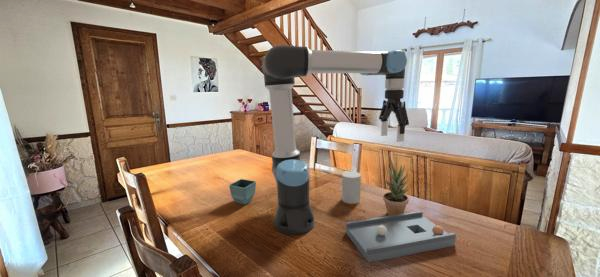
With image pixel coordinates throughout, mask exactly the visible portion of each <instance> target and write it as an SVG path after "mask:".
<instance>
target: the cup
mask: <svg viewBox="0 0 600 277" xmlns="http://www.w3.org/2000/svg"><path fill="white" fill-rule="evenodd" d="M361 180H362V174H361V173H360V172H357V171H344V172H342V174H341V201H342V202H344V203H346V204H349V205H350V204H351V205H355V204H359V203H360V202H361V188H362V187H361V184H362V182H361Z"/></svg>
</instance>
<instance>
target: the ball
mask: <svg viewBox="0 0 600 277" xmlns="http://www.w3.org/2000/svg"><path fill="white" fill-rule="evenodd" d="M377 233H378V234H379V235H381V236H384V235H386V233H387V229H386V227H385V226H383V225H380V226H378V227H377Z"/></svg>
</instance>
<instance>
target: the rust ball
mask: <svg viewBox="0 0 600 277" xmlns="http://www.w3.org/2000/svg"><path fill="white" fill-rule="evenodd" d="M435 225H436V224H435ZM432 231H433V233H434V234H435V235H436V236H437V235H442V234H443V233H444V231H445V230H444V228H443V227H442V226H441V225H436V226H434V227H433V229H432Z"/></svg>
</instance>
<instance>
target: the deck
mask: <svg viewBox="0 0 600 277" xmlns="http://www.w3.org/2000/svg"><path fill="white" fill-rule="evenodd" d="M423 214H424V213H423V211H422V210H418V211H411V212H404V213H403V214H397V215H390V216H389V215H386V216H378V217H373V218H366V219H359V220H354V221H353V220H351V221H347V222H345V234H346V235H347V237H348V238H349V239H350V240H351V241H352V243H353V244H354V246H355V247H356V249H357V250H358V251H359V253H360V254H361V256H362V257H363V258H364V259H365V261H366V262H367V263H374V262H379V261H383V260H384V261H385V260H388V259H393V258H398V257H404V256H409V255H414V254H415V255H416V254H419V253H425V252H429V251H434V250H438V249H444V248H449V247H455V246H456V237H457V234H456V233H455V232H448V231H446V230H444V233H443V234H442V235H437V236H436V235H435V234H434V233H433V231H432V229H433V227H434V226H436V224H435V223H434V222H432V221H431V220H429V219H428V218H427V217H425V216H423ZM380 225H383V226H385V227H386V229H387V233H386V235H384V236H381V235H379V234H378V233H377V227H378V226H380ZM415 232H416V233H415Z"/></svg>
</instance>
